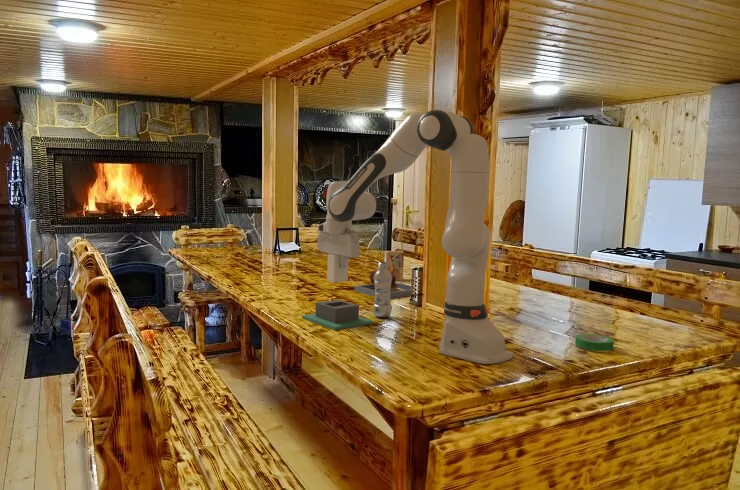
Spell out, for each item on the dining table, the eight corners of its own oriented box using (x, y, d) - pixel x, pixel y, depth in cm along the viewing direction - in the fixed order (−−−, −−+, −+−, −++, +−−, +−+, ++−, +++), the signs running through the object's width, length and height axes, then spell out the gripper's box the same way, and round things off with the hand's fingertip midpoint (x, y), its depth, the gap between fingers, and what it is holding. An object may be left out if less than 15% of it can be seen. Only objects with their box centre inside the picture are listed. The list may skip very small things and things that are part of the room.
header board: (372, 323, 201) (372, 306, 200) (334, 330, 191) (335, 312, 190) (338, 312, 216) (338, 296, 215) (302, 318, 206) (302, 301, 205)
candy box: (400, 281, 289) (401, 250, 287) (403, 282, 285) (404, 251, 283) (383, 281, 287) (384, 250, 285) (385, 283, 283) (386, 251, 281)
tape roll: (575, 339, 188) (576, 331, 188) (612, 344, 184) (613, 335, 184) (574, 348, 178) (575, 340, 177) (613, 353, 174) (614, 344, 173)
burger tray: (422, 295, 254) (423, 288, 254) (384, 300, 240) (384, 293, 240) (392, 287, 270) (392, 281, 269) (354, 292, 256) (354, 285, 256)
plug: (347, 280, 202) (348, 255, 201) (333, 282, 198) (334, 256, 197) (341, 279, 205) (341, 253, 204) (327, 280, 201) (327, 254, 200)
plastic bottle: (389, 319, 207) (391, 264, 205) (371, 318, 208) (372, 263, 206) (392, 315, 213) (394, 261, 211) (374, 314, 215) (376, 260, 213)
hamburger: (390, 297, 249) (391, 274, 248) (363, 294, 254) (364, 271, 253) (403, 291, 263) (404, 269, 262) (378, 288, 268) (378, 267, 267)
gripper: (364, 229, 194) (363, 270, 195) (329, 225, 210) (328, 263, 211) (349, 230, 190) (348, 272, 191) (314, 225, 206) (314, 264, 207)
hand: (337, 267), depth 201 cm, fingers closed on plug, 4 cm apart
